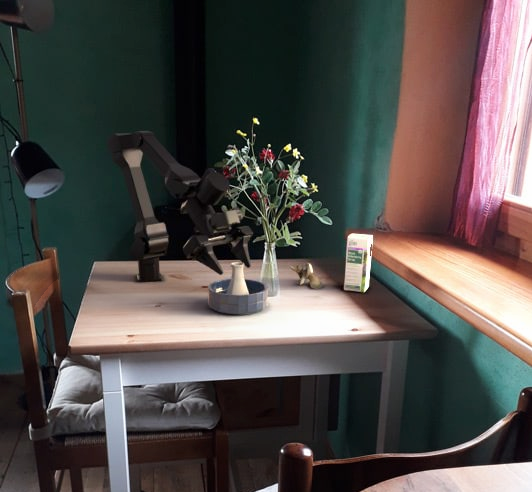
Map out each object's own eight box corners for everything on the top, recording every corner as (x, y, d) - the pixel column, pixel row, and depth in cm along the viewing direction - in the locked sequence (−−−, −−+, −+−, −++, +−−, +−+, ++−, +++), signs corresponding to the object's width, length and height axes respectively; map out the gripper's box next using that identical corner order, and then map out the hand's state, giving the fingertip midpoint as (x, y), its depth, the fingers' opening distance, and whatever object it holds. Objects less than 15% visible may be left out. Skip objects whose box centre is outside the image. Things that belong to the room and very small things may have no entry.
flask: (256, 307, 147) (256, 266, 144) (227, 309, 145) (226, 268, 142) (247, 298, 154) (247, 259, 150) (219, 300, 151) (218, 261, 148)
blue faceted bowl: (205, 299, 154) (204, 279, 153) (260, 296, 157) (260, 277, 156) (212, 317, 142) (212, 296, 140) (272, 314, 144) (273, 294, 143)
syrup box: (343, 290, 164) (346, 236, 159) (348, 284, 169) (352, 232, 164) (364, 293, 162) (368, 238, 157) (369, 287, 167) (373, 234, 162)
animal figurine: (283, 278, 169) (302, 280, 161) (294, 255, 170) (312, 256, 162) (303, 290, 173) (322, 293, 165) (313, 267, 174) (333, 269, 166)
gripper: (190, 200, 137) (224, 257, 135) (248, 192, 150) (280, 245, 148) (168, 230, 145) (200, 284, 142) (225, 220, 158) (256, 270, 155)
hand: (236, 270), depth 147 cm, fingers open, 9 cm apart
